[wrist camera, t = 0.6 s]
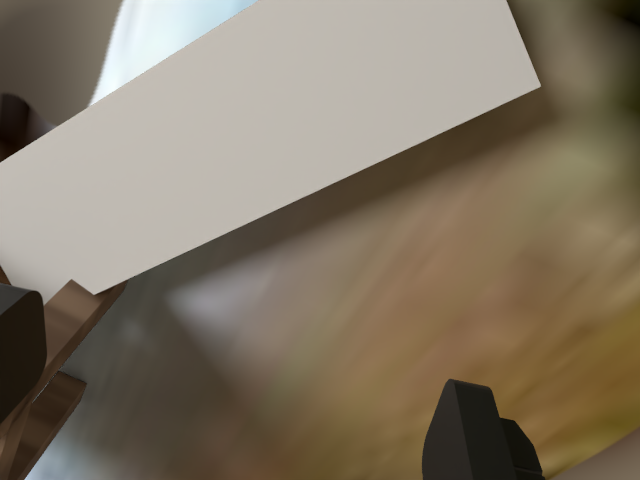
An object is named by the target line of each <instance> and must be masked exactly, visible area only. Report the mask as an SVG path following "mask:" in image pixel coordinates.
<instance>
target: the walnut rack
mask: <svg viewBox="0 0 640 480" xmlns="http://www.w3.org/2000/svg"><path fill="white" fill-rule="evenodd" d="M127 281H128V279H127V280H125V281H123V282H121V283H119V284H116V285H114V286H112V287H110V288H108V289H106V290H104V291H101V292H99V293H97V294H95V295H94V294H92V293H91V292H89V291H88V290H87V289H85V288H84V287H82V286H81V285H79V284H78V283H77V282H75V281H74V280H72V279H71V280H69V281H68V282H67V283H66V284H65V285H64V286H63V287H62V288H61V289H60V290H59V291H58V292H57V293H56V294H55V295H54V296H53V297H52V298H51V299H50V300H49V301H48V302H47V303H46V304H45V305H44V318H45V331H46V344H47V360H46V365H45V368H44V371H43V373H42V375H41V377H40V379H39V381H38V382H37V384H36V385H35V386H34V387H33V389H32V390H31V391H30V392H29V393H28V394H27V395H26V396H25V398H24V399H23V400H22V401H21V402H20V403H19V404H18V405H17V406H16V408H15V409H14V410H13V411H12V412H11V413H10V414H9V415H8V417H7V418H6V419H5V420H4V421H3V422H2V423H1V424H0V480H24V479H25V478H26V477H27V475H28V474H29V472H30V471H31V470H32V468H33V467H34V465H35V464H36V463H37V461H38V460H39V458H40V457H41V456H42V454H43V453H44V451H45V450H46V449H47V447H48V446H49V444H50V443H51V442H52V440H53V439H54V437H55V436H56V435H57V433H58V432H59V430H60V429H61V428H62V426H63V425H64V423H65V422H66V421H67V419H68V418H69V416H70V415H71V414H72V412H73V411H74V409H75V408H76V407H77V405H78V404H79V402H80V400H81V398H82V395H83V392H84V390H85V387H86V385H87V384H86V383H84V382H82V381H80V380H77V379H75V378H73V377H71V376H68V375H66V374H64V373H62V372H60V371H59V372H58V373H57V374H56V375H55V376H54V374H55V373H56V372H57V371H58V370H59V368H60V367H61V366H62V365H63V363H64V362H65V361H66V360H67V359H68V357H69V356H70V355H71V354H72V353H73V351H74V350H75V349H76V348H77V346H78V345H79V344H80V343H81V342H82V340H83V339H84V338H85V337H86V336H87V334H88V333H89V332H90V331H91V330H92V328H93V327H94V326H95V325H96V323H97V322H98V321H99V320H100V319H101V317H102V316H103V315H104V314H105V313H106V311H107V310H108V309H109V308H110V306H111V305H112V304H113V303H114V302H115V300H116V299H117V298H118V297H119V296H120V294H121V293H122V292H123V291H124V288H125V286H126V283H127ZM53 376H54V378H53V379H52V380H51V381H50V383H49V384H48V385H47V386H46V387H45V389H44V390H43V391H42V392H41V393H40V391H41V390H42V389H43V388H44V386H45V385H46V384H47V383H48V382H49V380H50V379H51V378H52V377H53ZM39 393H40V395H39V396H38V397H37V398H36V400H35V401H34V402H33V403H32V401H33V400H34V399H35V397H36V396H37V395H38V394H39Z"/></svg>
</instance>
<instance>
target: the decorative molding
mask: <svg viewBox="0 0 640 480" xmlns="http://www.w3.org/2000/svg"><path fill="white" fill-rule="evenodd" d="M539 87H541V85H540V82H539V80H538V77H537V75H536V73H535V70H534V68H533V65H532V63H531V60H530V58H529V55H528V53H527V50H526V48H525V45H524V43H523V41H522V38H521V36H520V33H519V31H518V28H517V26H516V23H515V21H514V18H513V16H512V13H511V11H510V8H509V6H508V4H507V1H506V0H259V1H257V2H255V3H254V4H252V5H251V6H249V7H247V8H246V9H244V10H243V11H241V12H239V13H238V14H236V15H235V16H233V17H232V18H230V19H228V20H227V21H225V22H224V23H222V24H220V25H219V26H217V27H216V28H214V29H212V30H211V31H209V32H208V33H206V34H204V35H203V36H201V37H200V38H198V39H196V40H195V41H193V42H192V43H190V44H189V45H187V46H185V47H184V48H182V49H181V50H179V51H177V52H176V53H174V54H173V55H171V56H169V57H168V58H166V59H165V60H163V61H161V62H160V63H158V64H157V65H155V66H154V67H152V68H150V69H149V70H147V71H146V72H144V73H142V74H141V75H139V76H138V77H136V78H134V79H133V80H131V81H130V82H128V83H126V84H125V85H123V86H122V87H120V88H119V89H117V90H115V91H114V92H112V93H111V94H109V95H107V96H106V97H104V98H103V99H101V100H99V101H98V102H96V103H95V104H93V105H91V106H90V107H88V108H87V109H85V110H83V111H82V112H80V113H79V114H77V115H76V116H74V117H72V118H71V119H69V120H68V121H66V122H64V123H63V124H61V125H60V126H58V127H56V128H55V129H53V130H52V131H50V132H48V133H47V134H45V135H44V136H42V137H41V138H39V139H37V140H36V141H34V142H33V143H31V144H29V145H28V146H26V147H25V148H23V149H21V150H20V151H18V152H17V153H15V154H13V155H12V156H10V157H9V158H7V159H5V160H4V161H2V162H1V163H0V265H1V267H2V269H3V270H4V272H5V274H6V276H7V278H8V279H9V281H10V283H11V285H12V286H16V287H21V288H26V289H30V290H35V291H38V292H39V293H40V294H41V296H42V298H43V305H45V304H46V303H47V302H48V301H49V300H50V299H51V298H52V297H53V296H54V295H55V294H56V293H57V292H58V291H59V290H60V289H61V288H62V287H63V286H64V285H65V284H66V283H67V282H68V281H69V280H71V279H72V280H74V281H75V282H77V283H78V284H79V285H81V286H82V287H84V288H85V289H87V290H88V291H89V292H91V293H92V294H94V295H95V294H97V293H99V292H101V291H104V290H106V289H108V288H110V287H112V286H114V285H116V284H119V283H121V282H123V281H125V280H127V279H129V278H131V277H134V276H136V275H138V274H140V273H142V272H144V271H146V270H149V269H151V268H153V267H155V266H157V265H159V264H161V263H164V262H166V261H168V260H170V259H172V258H174V257H176V256H179V255H181V254H183V253H185V252H187V251H189V250H191V249H194V248H196V247H198V246H200V245H202V244H204V243H206V242H209V241H211V240H213V239H215V238H217V237H219V236H221V235H224V234H226V233H228V232H230V231H232V230H234V229H237V228H239V227H241V226H243V225H245V224H247V223H249V222H252V221H254V220H256V219H258V218H260V217H262V216H264V215H267V214H269V213H271V212H273V211H275V210H277V209H279V208H282V207H284V206H286V205H288V204H290V203H292V202H294V201H297V200H299V199H301V198H303V197H305V196H307V195H309V194H312V193H314V192H316V191H318V190H320V189H322V188H324V187H327V186H329V185H331V184H333V183H335V182H337V181H339V180H342V179H344V178H346V177H348V176H350V175H352V174H354V173H357V172H359V171H361V170H363V169H365V168H367V167H369V166H372V165H374V164H376V163H378V162H380V161H382V160H384V159H387V158H389V157H391V156H393V155H395V154H397V153H399V152H402V151H404V150H406V149H408V148H410V147H412V146H414V145H417V144H419V143H421V142H423V141H425V140H427V139H429V138H432V137H434V136H436V135H438V134H440V133H442V132H444V131H447V130H449V129H451V128H453V127H455V126H457V125H459V124H462V123H464V122H466V121H468V120H470V119H472V118H474V117H477V116H479V115H481V114H483V113H485V112H487V111H489V110H492V109H494V108H496V107H498V106H500V105H502V104H504V103H507V102H509V101H511V100H513V99H515V98H517V97H519V96H522V95H524V94H526V93H528V92H530V91H532V90H534V89H537V88H539Z"/></svg>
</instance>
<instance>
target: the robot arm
mask: <svg viewBox="0 0 640 480" xmlns="http://www.w3.org/2000/svg"><path fill="white" fill-rule="evenodd" d="M46 360H47V344H46V331H45V318H44V305H43V298H42V296H41V294H40V293H39V292H38V291H35V290H30V289H26V288H21V287H16V286H11V285H7V284H2V283H0V424H1V423H2V422H3V421H4V420H5V419H6V418H7V417H8V415H9V414H10V413H11V412H12V411H13V410H14V409H15V408H16V406H17V405H18V404H19V403H20V402H21V401H22V400H23V399H24V398H25V396H26V395H27V394H28V393H29V392H30V391H31V390H32V389H33V387H34V386H35V385H36V384H37V382H38V381H39V379H40V377H41V375H42V373H43V371H44V368H45V365H46ZM422 473H423V480H545V477H543V476H542V469H541V466H540V463H539V460H538V457H537V454H536V451H535V448H534V446H533V444H532V443H531V441H530V440H529V439H528V438H527V436H526V435H525V434H524V432H523V431H522V430H521V428H520V427H519V426H518V425H517V423H516V422H515V421H514V420H509V419H504V418H500V417H499V414H498V410H497V407H496V403H495V400H494V396H493V393H492V390H491V389H490V388H489V387H487V386H482V385H477V384H473V383H468V382H463V381H458V380H454V379H449V380H448V381H447V382H446V384H445V386H444V389H443V391H442V394H441V397H440V399H439V402H438V405H437V408H436V410H435V413H434V416H433V418H432V421H431V424H430V427H429V429H428V432H427V435H426V438H425V442H424V448H423V456H422Z"/></svg>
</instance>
